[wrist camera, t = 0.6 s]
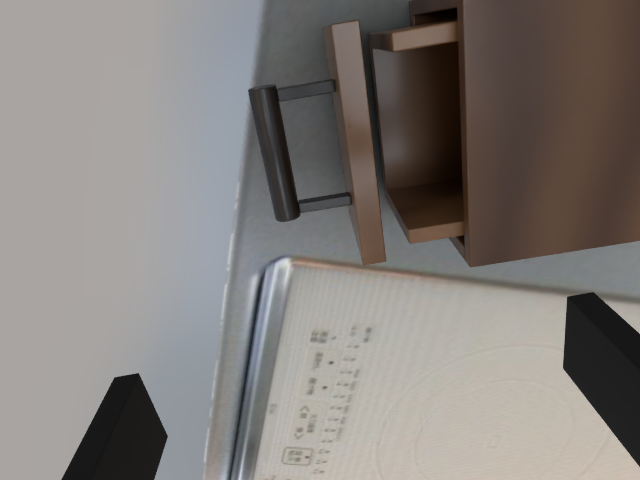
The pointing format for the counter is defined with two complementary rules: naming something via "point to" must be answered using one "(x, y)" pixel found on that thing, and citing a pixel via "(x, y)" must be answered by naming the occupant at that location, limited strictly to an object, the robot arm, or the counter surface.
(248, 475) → the counter surface
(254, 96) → the drawer
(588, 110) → the cabinet
